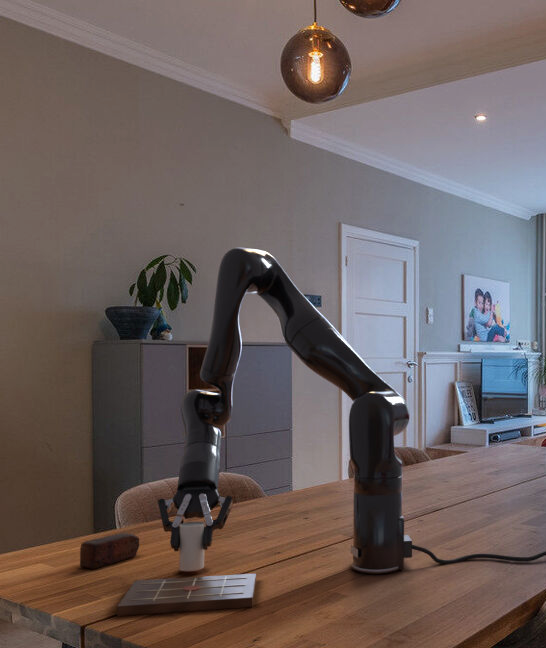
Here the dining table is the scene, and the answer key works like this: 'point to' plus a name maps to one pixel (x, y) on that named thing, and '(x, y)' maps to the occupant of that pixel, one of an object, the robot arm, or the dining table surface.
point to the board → (188, 594)
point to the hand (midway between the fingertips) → (190, 547)
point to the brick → (108, 550)
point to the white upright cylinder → (191, 546)
